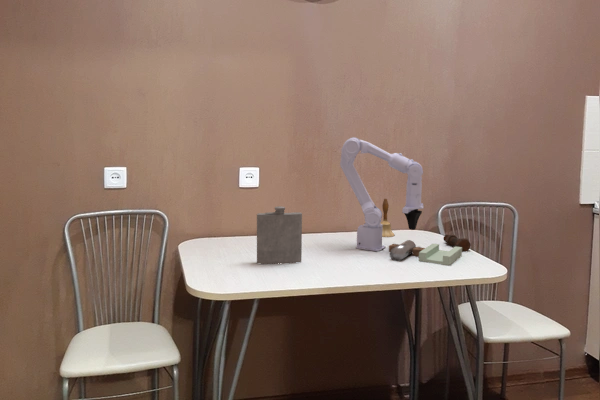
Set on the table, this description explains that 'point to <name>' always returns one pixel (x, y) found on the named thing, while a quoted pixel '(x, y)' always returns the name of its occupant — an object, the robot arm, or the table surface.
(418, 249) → the bearing block
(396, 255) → the axle
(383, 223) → the hand bell
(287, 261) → the hip flask
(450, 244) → the bolt
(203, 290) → the table surface
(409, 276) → the table surface
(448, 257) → the pale green channelled slab
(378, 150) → the robot arm
